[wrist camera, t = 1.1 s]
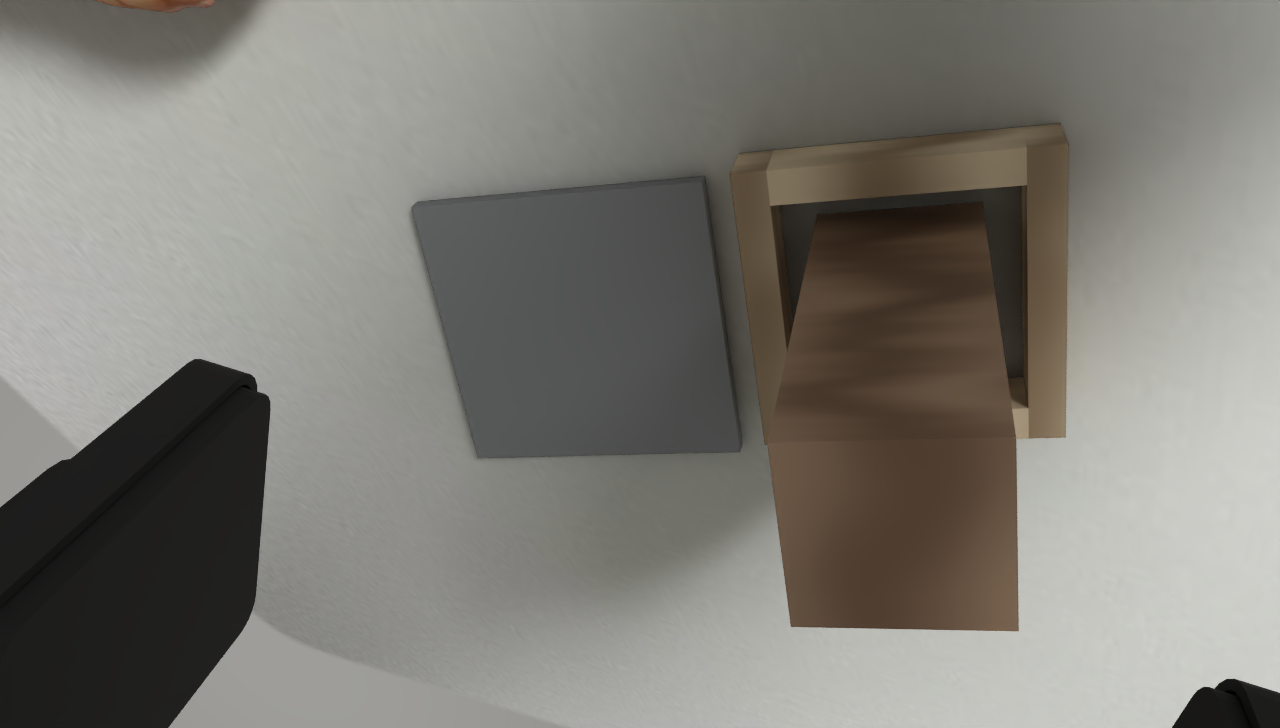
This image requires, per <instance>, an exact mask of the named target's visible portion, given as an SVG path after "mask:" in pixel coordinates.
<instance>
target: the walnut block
mask: <svg viewBox="0 0 1280 728" xmlns="http://www.w3.org/2000/svg"><path fill="white" fill-rule="evenodd" d="M767 444H768V452H769V459H770V467H771V475H772V483H773V491H774V498H775V506H776V514H777V522H778V529H779V537H780V545H781V553H782V561H783V568H784V576H785V584H786V592H787V599H788V607H789V615H790V623H791V627H826V628H879V629H931V630H983V631H1019V626H1018V547H1017V468H1016V433H1015V426H1014V419H1013V412H1012V405H1011V398H1010V391H1009V384H1008V377H1007V370H1006V363H1005V356H1004V349H1003V342H1002V335H1001V329H1000V322H999V315H998V308H997V301H996V294H995V287H994V280H993V273H992V266H991V259H990V252H989V245H988V238H987V231H986V224H985V217H984V211H983V204H982V202H974V203H961V204H948V205H935V206H922V207H909V208H896V209H883V210H871V211H858V212H845V213H832V214H819V215H817V217H816V222H815V227H814V231H813V236H812V240H811V245H810V250H809V254H808V259H807V263H806V268H805V272H804V277H803V282H802V286H801V291H800V295H799V300H798V305H797V309H796V314H795V318H794V323H793V328H792V332H791V337H790V341H789V346H788V351H787V355H786V360H785V364H784V369H783V374H782V378H781V383H780V387H779V392H778V396H777V401H776V406H775V410H774V415H773V419H772V424H771V429H770V433H769V438H768V442H767Z"/></svg>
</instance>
